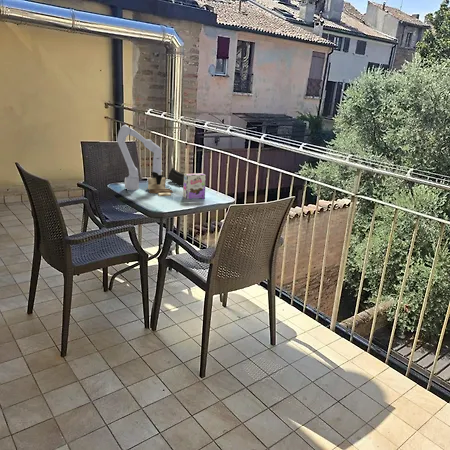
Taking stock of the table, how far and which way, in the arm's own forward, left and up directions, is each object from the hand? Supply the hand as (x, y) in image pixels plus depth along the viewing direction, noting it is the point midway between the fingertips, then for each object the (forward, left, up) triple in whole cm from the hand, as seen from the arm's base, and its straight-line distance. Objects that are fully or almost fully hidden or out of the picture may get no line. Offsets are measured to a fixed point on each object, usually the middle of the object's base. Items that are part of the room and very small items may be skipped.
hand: (157, 183), depth 291 cm
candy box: (+18, -27, -5) cm, 33 cm away
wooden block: (0, 0, -4) cm, 4 cm away
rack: (0, -10, -5) cm, 11 cm away
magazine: (+22, +14, -5) cm, 27 cm away
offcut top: (0, -19, -4) cm, 19 cm away
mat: (0, 0, -5) cm, 5 cm away
